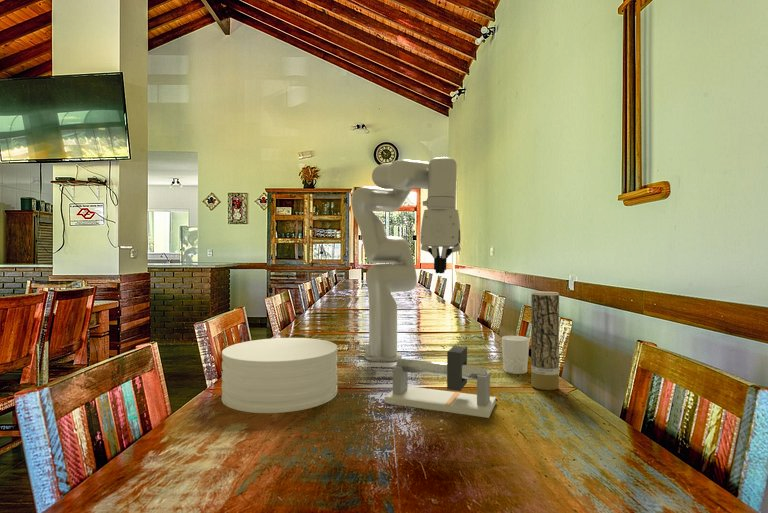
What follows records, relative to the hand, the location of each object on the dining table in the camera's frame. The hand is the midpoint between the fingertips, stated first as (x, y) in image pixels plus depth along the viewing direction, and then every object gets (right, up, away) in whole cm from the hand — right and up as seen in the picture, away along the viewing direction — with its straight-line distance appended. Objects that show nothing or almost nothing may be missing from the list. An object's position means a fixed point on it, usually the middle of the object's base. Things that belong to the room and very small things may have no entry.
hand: (440, 272), depth 119 cm
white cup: (+24, -30, +13) cm, 41 cm away
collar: (+2, -25, -17) cm, 31 cm away
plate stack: (-41, -30, -9) cm, 52 cm away
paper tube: (+27, -30, -3) cm, 41 cm away
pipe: (-2, -23, -16) cm, 28 cm away
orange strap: (+1, -28, -17) cm, 33 cm away
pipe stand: (-2, -30, -16) cm, 34 cm away
